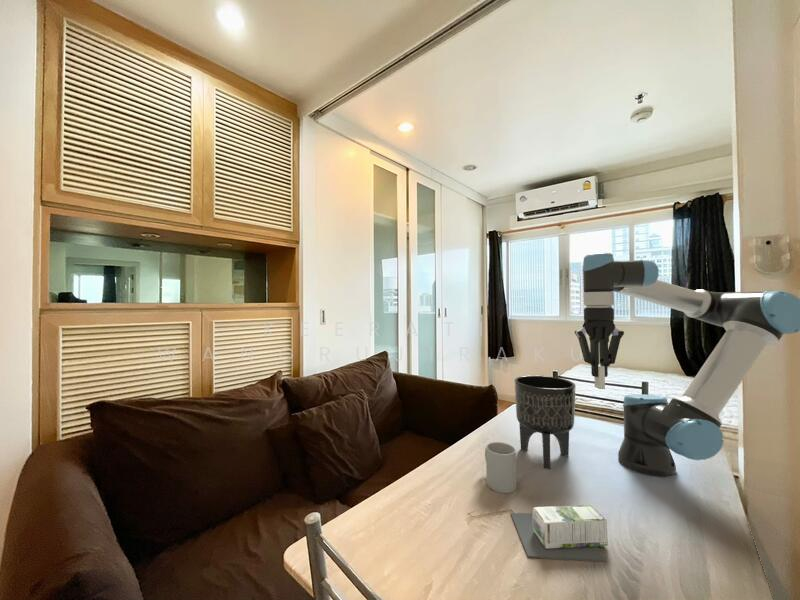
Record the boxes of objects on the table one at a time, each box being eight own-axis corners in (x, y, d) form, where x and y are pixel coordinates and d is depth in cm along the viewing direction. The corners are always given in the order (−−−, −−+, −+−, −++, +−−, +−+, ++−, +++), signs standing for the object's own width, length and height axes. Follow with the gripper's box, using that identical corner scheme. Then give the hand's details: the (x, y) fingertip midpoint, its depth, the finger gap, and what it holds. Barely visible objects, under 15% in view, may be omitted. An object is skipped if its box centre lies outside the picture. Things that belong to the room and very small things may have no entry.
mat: (575, 517, 81) (575, 515, 81) (606, 561, 67) (606, 559, 67) (510, 514, 82) (510, 512, 82) (527, 557, 68) (527, 555, 68)
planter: (581, 475, 100) (580, 391, 100) (515, 465, 107) (514, 386, 107) (571, 448, 119) (570, 377, 119) (515, 441, 125) (514, 373, 125)
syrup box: (591, 528, 76) (532, 532, 76) (590, 503, 77) (531, 506, 76) (608, 546, 71) (544, 550, 70) (607, 519, 71) (543, 522, 70)
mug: (522, 490, 93) (522, 452, 93) (497, 495, 90) (496, 456, 90) (497, 469, 104) (497, 435, 104) (474, 474, 102) (474, 439, 102)
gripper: (614, 306, 97) (615, 384, 96) (569, 306, 98) (570, 384, 98) (630, 306, 89) (631, 391, 89) (581, 307, 90) (582, 391, 90)
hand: (599, 387), depth 93 cm, fingers closed
